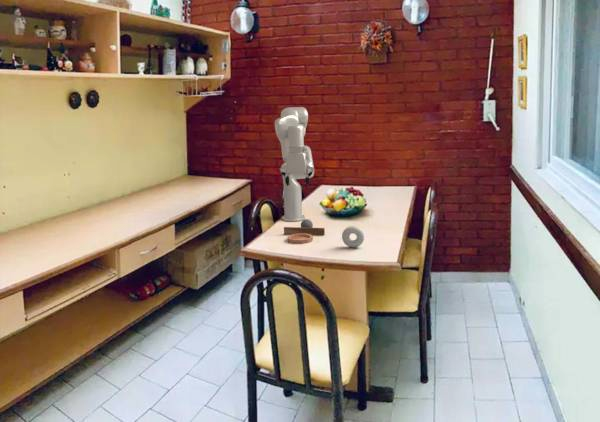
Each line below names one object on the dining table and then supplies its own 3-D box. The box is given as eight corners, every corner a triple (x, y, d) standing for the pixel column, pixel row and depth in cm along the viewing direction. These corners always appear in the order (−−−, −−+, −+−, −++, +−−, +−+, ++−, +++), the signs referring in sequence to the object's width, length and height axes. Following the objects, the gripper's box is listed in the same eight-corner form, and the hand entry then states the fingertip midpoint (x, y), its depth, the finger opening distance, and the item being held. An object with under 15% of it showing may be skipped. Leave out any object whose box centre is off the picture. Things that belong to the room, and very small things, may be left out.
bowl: (290, 236, 270) (290, 233, 270) (314, 237, 268) (314, 233, 267) (285, 243, 259) (285, 239, 259) (310, 244, 257) (309, 240, 256)
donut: (341, 248, 249) (341, 226, 247) (342, 246, 252) (342, 224, 250) (363, 249, 247) (363, 227, 245) (364, 246, 250) (364, 225, 248)
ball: (302, 229, 283) (301, 217, 282) (313, 229, 282) (313, 218, 281) (299, 232, 277) (299, 220, 276) (311, 232, 276) (311, 220, 275)
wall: (284, 233, 275) (284, 227, 275) (324, 234, 272) (324, 227, 271) (284, 234, 274) (283, 227, 274) (324, 235, 270) (324, 228, 270)
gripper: (315, 149, 273) (316, 184, 276) (281, 150, 277) (282, 184, 280) (312, 151, 265) (313, 186, 269) (277, 151, 269) (278, 186, 273)
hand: (297, 185), depth 274 cm, fingers open, 9 cm apart
